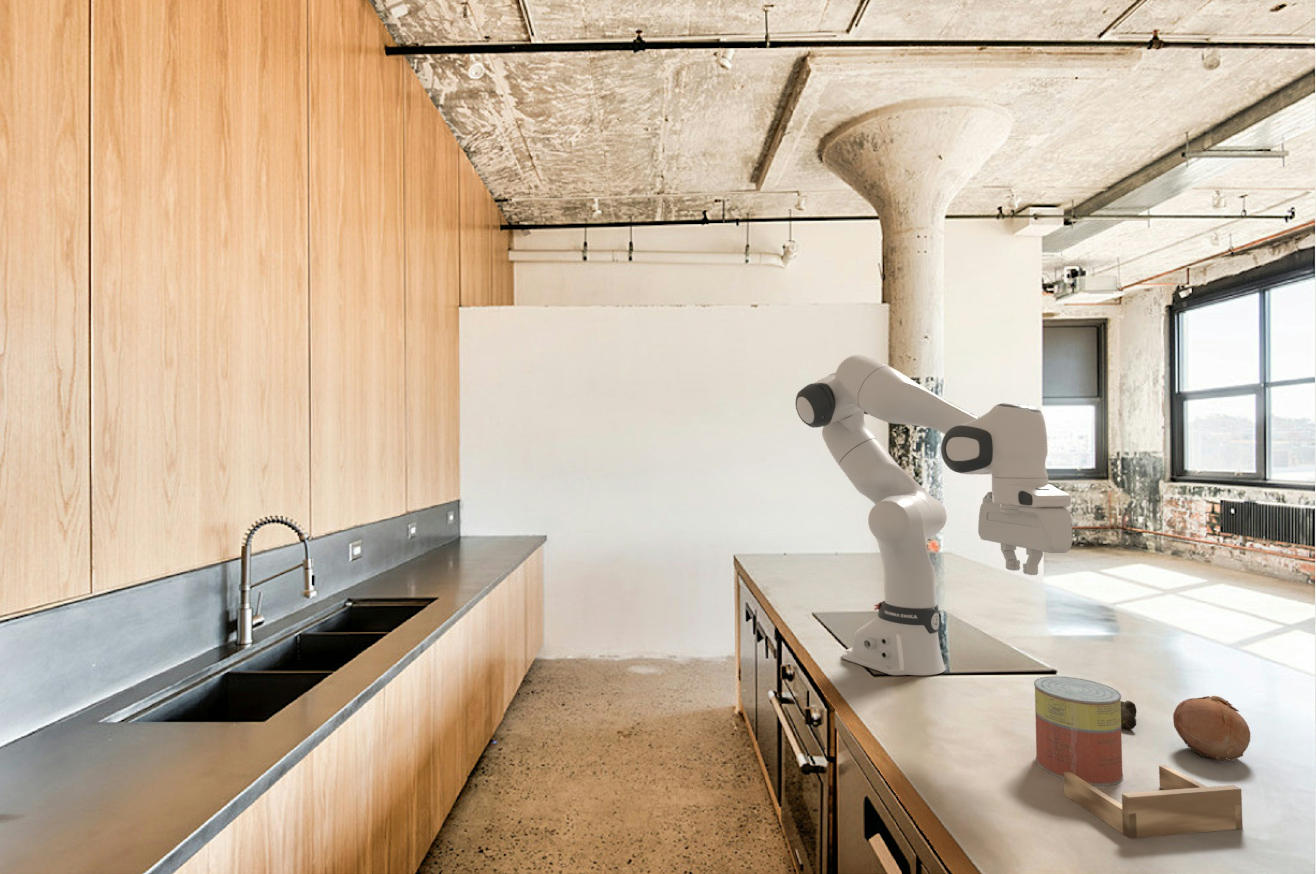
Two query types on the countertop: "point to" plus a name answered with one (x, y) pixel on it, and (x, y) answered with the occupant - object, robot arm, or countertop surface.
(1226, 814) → the cradle
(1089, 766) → the canned food
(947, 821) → the countertop surface
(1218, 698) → the onion
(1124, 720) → the claw
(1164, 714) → the countertop surface
